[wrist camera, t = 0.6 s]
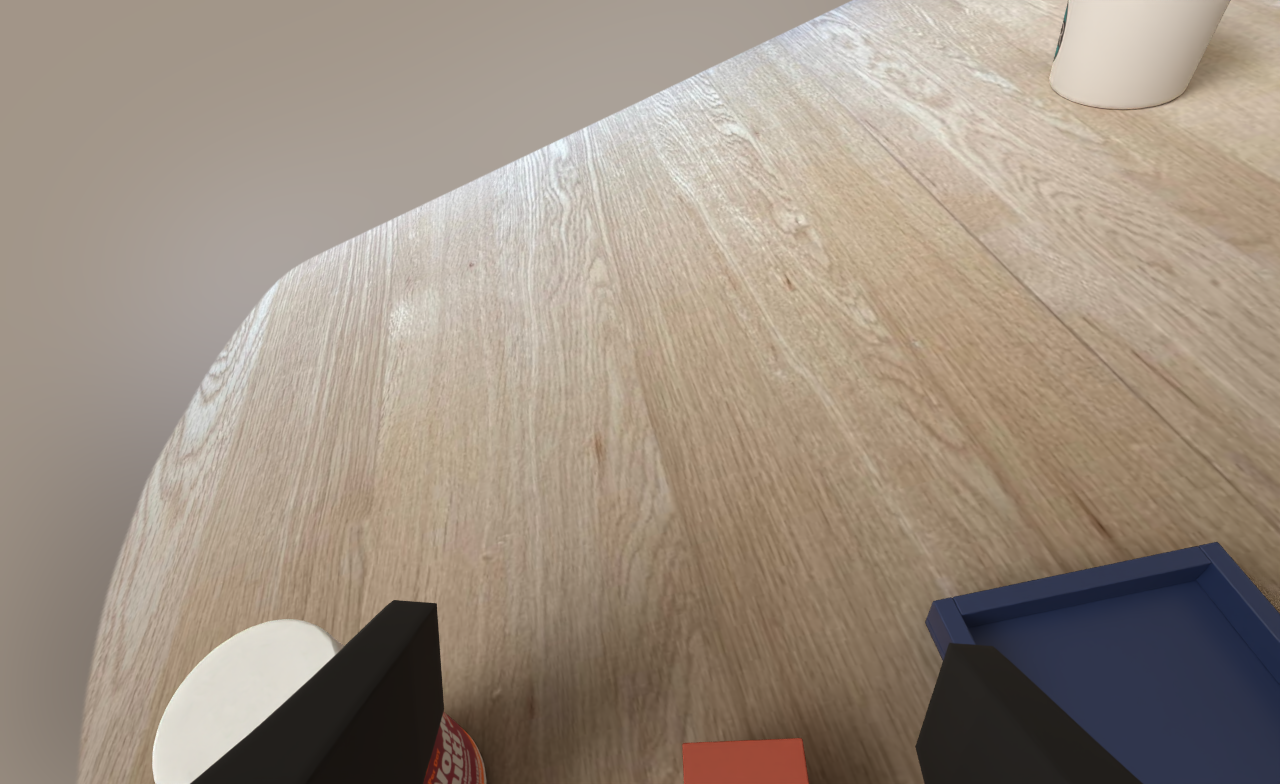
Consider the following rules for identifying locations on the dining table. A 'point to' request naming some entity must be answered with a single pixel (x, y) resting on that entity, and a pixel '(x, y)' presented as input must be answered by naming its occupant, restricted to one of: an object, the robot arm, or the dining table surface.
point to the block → (745, 762)
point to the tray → (1145, 660)
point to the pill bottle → (269, 704)
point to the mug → (1131, 50)
